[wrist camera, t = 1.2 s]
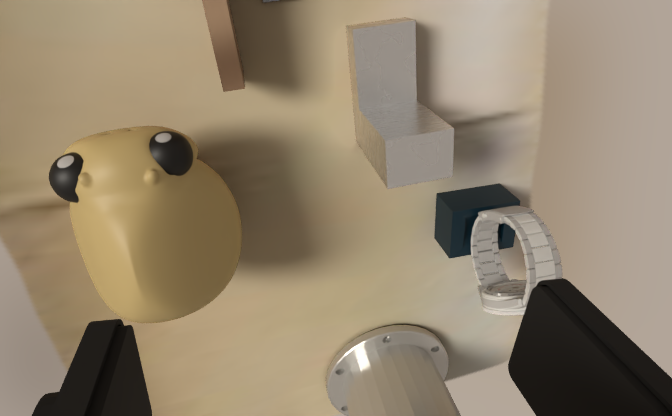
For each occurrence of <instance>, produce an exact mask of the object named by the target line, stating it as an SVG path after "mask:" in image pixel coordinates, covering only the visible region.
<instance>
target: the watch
mask: <svg viewBox="0 0 672 416" xmlns="http://www.w3.org/2000/svg"><path fill="white" fill-rule="evenodd" d="M533 212H534V210H532V209H530V208H527V207H523V206H520V200H519V199H517V198H516V197H515V196H514V195H513V194H511V193H510V192H509V191H508V190H507V189H505V188H504V187H503V186H502V185H501V184H494V185H488V186H481V187H475V188H469V189H462V190H456V191H450V192H443V193H437V198H436V218H435V239H436V240H437V242H438V243H439V245H440V246H441V247H442V249H443V250H444V251H445V253H446V254H447V256H448V257H449V258H454V257H460V256H465V255H471V256H472V262H473V267H474V269H475V274H476V277H477V280H478V282H479V285H480V286H478V291H479V294H480V297H481V300H482V309H483V310H484V311H486V312H488V313H492V314H497V315H510V316H512V315H524V313H525V310H526V306H527V303H528V300H529V297H530V294H531V291H532V289H533V288H534V287H536V286H537V284H538V282H540V281H542V280H551V279H562V266H561V264H560V263H561V260H560V255H559V252H558V249H557V246H556V244H555V241H554V239H553V237H552V236H550V235H551V233H550V231H549V229H548V228H547V226H546V225H545V224H544V222H543V221H542V219H541V218H539V217H538V216H537V215H536V214H535V213H533ZM515 232H516V234H517V236H518V238H519V240H520V241H521V246H522V250H523V253H524V254H528V255H525V256H524V259H525V266H526V268H527V270H526V280H517V279H512V280H511V281H510V280H509V278H508V276H507V275H506V272H505V270H504V267H503V265H502V264H501V263H502V262H501V258H500V255H499V253H498V252H499V249H504V248H510V247H513V244H514V237H515ZM542 246H545V247H542ZM535 247H539V248H535ZM531 248H534V249H531ZM553 249H555V250H553ZM476 256H477V257H476ZM549 260H550V261H549ZM491 261H493V262H491ZM543 261H545V262H543ZM485 262H488V263H485ZM538 262H540V263H538ZM480 263H482V264H480ZM497 264H500V265H497ZM476 268H478V269H476ZM531 268H532V269H531ZM492 273H494V274H492ZM487 274H488V275H487Z"/></svg>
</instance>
